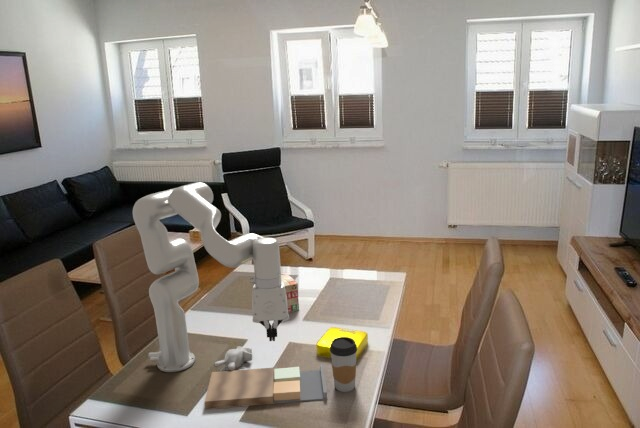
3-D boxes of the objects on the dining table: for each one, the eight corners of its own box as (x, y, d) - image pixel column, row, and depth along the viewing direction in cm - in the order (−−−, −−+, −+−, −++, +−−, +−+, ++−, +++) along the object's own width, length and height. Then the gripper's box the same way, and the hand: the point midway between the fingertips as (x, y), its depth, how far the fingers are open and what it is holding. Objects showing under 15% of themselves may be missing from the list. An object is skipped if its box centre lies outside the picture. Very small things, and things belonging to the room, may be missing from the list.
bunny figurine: (258, 345, 181) (234, 362, 167) (258, 359, 181) (235, 377, 168) (235, 341, 184) (210, 357, 171) (235, 355, 185) (210, 372, 171)
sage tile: (274, 386, 162) (274, 379, 161) (274, 375, 168) (274, 368, 167) (300, 383, 163) (300, 376, 162) (299, 373, 168) (299, 366, 168)
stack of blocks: (269, 295, 233) (267, 269, 230) (282, 292, 235) (280, 267, 232) (285, 313, 214) (283, 285, 211) (299, 310, 216) (297, 282, 213)
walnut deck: (205, 409, 153) (204, 401, 152) (212, 379, 168) (211, 372, 168) (273, 403, 154) (272, 396, 153) (274, 374, 169) (273, 367, 169)
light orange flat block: (273, 400, 155) (273, 393, 154) (274, 389, 160) (273, 382, 160) (300, 398, 155) (300, 391, 154) (300, 387, 161) (299, 380, 160)
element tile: (369, 342, 188) (369, 330, 187) (355, 363, 174) (355, 350, 173) (330, 336, 193) (330, 324, 192) (315, 356, 180) (314, 343, 179)
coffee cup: (356, 378, 165) (355, 335, 161) (359, 393, 157) (358, 348, 153) (330, 379, 165) (328, 336, 161) (332, 395, 157) (330, 350, 153)
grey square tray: (273, 403, 154) (272, 396, 153) (274, 374, 169) (273, 367, 169) (327, 399, 155) (326, 392, 154) (323, 370, 170) (322, 364, 170)
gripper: (240, 287, 145) (246, 347, 149) (294, 284, 145) (297, 343, 150) (243, 277, 152) (247, 334, 156) (294, 274, 153) (297, 331, 157)
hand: (272, 338), depth 153 cm, fingers closed
